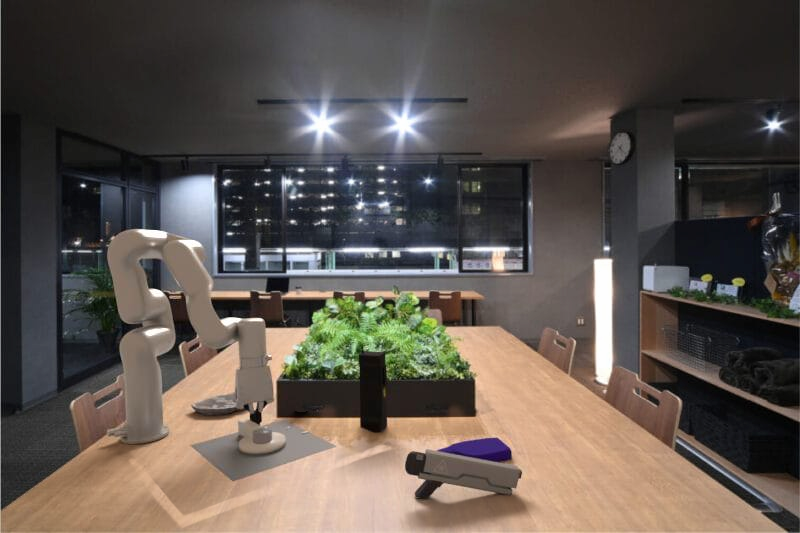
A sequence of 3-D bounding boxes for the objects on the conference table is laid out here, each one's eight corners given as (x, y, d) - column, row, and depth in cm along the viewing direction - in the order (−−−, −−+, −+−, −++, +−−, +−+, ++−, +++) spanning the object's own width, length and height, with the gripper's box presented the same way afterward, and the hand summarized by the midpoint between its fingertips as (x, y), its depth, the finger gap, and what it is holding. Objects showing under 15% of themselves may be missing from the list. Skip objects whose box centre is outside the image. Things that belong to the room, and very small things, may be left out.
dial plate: (233, 487, 110) (233, 480, 110) (190, 450, 131) (190, 444, 131) (336, 451, 129) (336, 445, 129) (284, 424, 150) (284, 418, 150)
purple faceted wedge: (496, 435, 132) (408, 447, 126) (515, 450, 121) (421, 465, 115) (496, 445, 132) (409, 458, 126) (515, 462, 121) (421, 477, 115)
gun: (398, 489, 106) (408, 445, 105) (510, 510, 107) (519, 466, 107) (399, 495, 103) (409, 449, 103) (513, 516, 105) (523, 471, 104)
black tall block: (391, 426, 147) (389, 343, 146) (384, 433, 141) (382, 347, 140) (367, 423, 149) (365, 342, 148) (359, 430, 144) (357, 346, 143)
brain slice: (213, 422, 153) (213, 413, 153) (185, 412, 163) (184, 403, 163) (265, 406, 168) (265, 397, 168) (236, 397, 179) (235, 389, 179)
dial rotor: (294, 444, 129) (293, 429, 129) (251, 458, 121) (251, 442, 121) (261, 427, 143) (261, 413, 142) (221, 438, 134) (221, 424, 134)
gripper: (275, 356, 146) (278, 416, 146) (223, 363, 138) (226, 427, 139) (282, 360, 139) (285, 424, 140) (228, 368, 132) (231, 435, 132)
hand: (256, 425), depth 139 cm, fingers closed
